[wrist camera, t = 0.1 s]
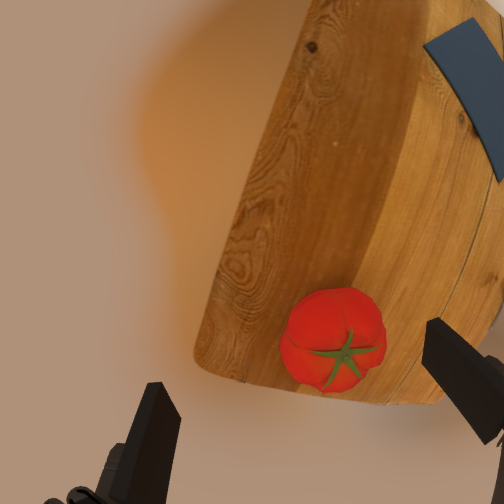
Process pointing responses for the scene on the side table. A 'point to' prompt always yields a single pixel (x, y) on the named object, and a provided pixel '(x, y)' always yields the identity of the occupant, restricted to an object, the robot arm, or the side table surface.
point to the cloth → (475, 83)
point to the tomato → (333, 339)
